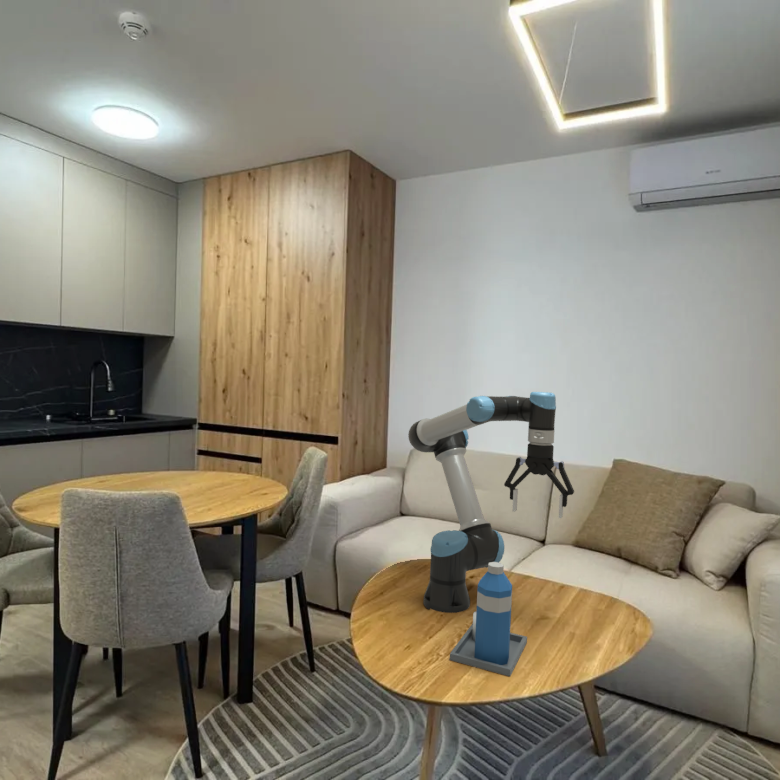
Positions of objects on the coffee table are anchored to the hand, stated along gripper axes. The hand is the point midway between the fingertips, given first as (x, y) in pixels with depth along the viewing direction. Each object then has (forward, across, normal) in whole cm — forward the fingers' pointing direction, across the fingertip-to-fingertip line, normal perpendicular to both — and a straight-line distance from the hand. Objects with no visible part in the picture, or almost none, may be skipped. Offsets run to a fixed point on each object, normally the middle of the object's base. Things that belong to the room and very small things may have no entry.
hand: (537, 513), depth 167 cm
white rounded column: (+34, -11, -16) cm, 39 cm away
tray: (+35, -7, -22) cm, 42 cm away
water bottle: (+34, -6, -25) cm, 43 cm away
